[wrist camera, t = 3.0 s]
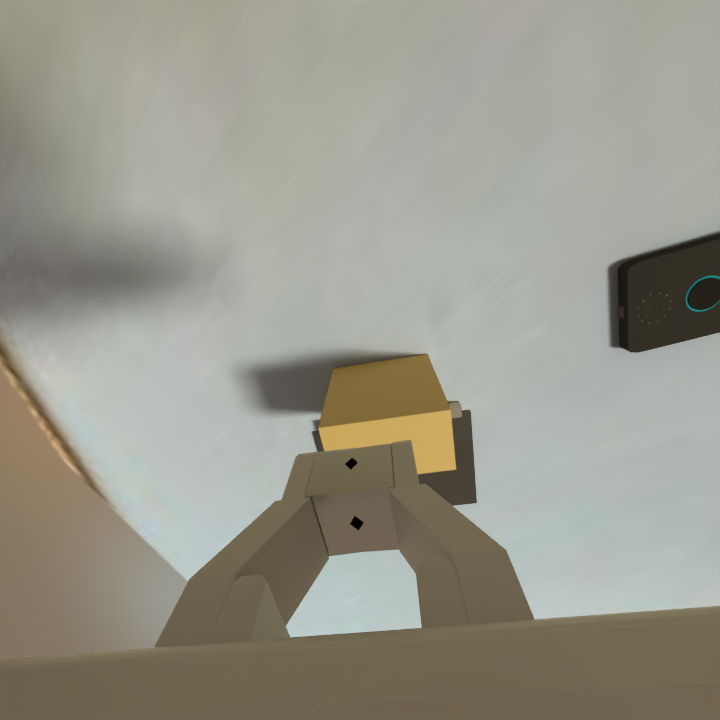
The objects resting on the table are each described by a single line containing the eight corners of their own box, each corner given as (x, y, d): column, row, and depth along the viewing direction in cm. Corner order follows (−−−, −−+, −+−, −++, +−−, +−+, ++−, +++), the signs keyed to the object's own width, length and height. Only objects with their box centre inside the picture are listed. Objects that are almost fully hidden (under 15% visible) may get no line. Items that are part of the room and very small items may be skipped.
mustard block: (333, 368, 32) (317, 428, 23) (427, 353, 31) (450, 409, 22) (343, 412, 34) (333, 484, 25) (432, 400, 33) (456, 469, 24)
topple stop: (311, 421, 34) (309, 427, 34) (469, 399, 33) (471, 404, 32) (337, 516, 39) (336, 523, 38) (475, 500, 38) (478, 507, 37)
